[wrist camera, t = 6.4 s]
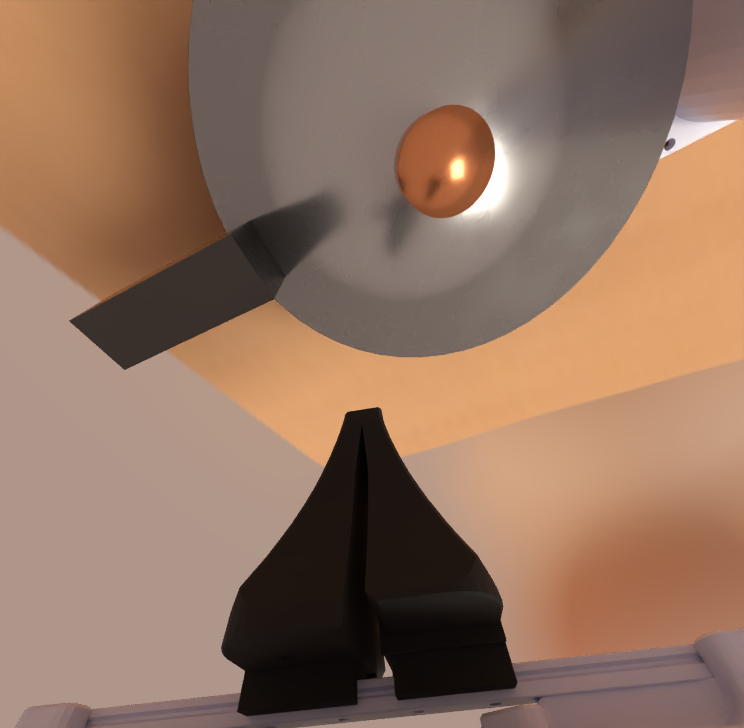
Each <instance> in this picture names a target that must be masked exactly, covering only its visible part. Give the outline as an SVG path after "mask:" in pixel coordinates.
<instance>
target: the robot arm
mask: <svg viewBox="0 0 744 728" xmlns="http://www.w3.org/2000/svg"><path fill="white" fill-rule="evenodd" d="M741 119H744V0H693V9H692V30H691V39H690V45H689V52H688V58H687V65H686V71H685V78H684V82H683V86H682V90H681V93H680V97H679V101H678V105H677V109H676V113H675V117H674V120H673V123H672V126H671V129H670V131H669V134H668V137H667V140H666V142H667V141H668V140H669V143H668V146H667V147H666V148H665V149H664V148H663V151H662V154H661V156H660V159H661V158H663V157H665V156H667V155H669V154H671V153H673V152H675V151H677V150H679V149H681V148H683V147H685V146H687V145H689V144H691V143H693V142H695V141H697V140H699V139H701V138H703V137H705V136H707V135H709V134H711V133H713V132H715V131H717V130H719V129H721V128H723V127H725V126H727V125H729V124H731V123H733V122H735V121H737V120H741ZM502 610H503V603H502V599H501V596H500V594H499V592H498V590H497V587H496V586H495V583H494V582H493V580H492V578H491V576H490V575H489V573H488V571H487V570H486V568H485V566H484V565H483V563H482V562H481V560H480V559H479V557H478V555H477V554H476V553H475V552H474V551H473V550H472V549H471V548H470V547H469V546H468V545H467V544H466V543H465V542H464V541H463V540H462V539H461V537H460V536H459V535H458V534H457V533H456V532H455V531H454V530H453V528H452V527H451V526H450V525H449V524H448V523H447V522H446V521H445V519H444V518H443V517H442V516H441V515H440V513H439V512H438V511H437V510H436V508H435V507H434V506H433V505H432V503H431V502H430V501H429V500H428V498H427V497H426V496H425V494H424V493H423V492H422V490H421V489H420V488H419V486H418V484H417V483H416V482H415V480H414V479H413V477H412V476H411V474H410V473H409V471H408V469H407V468H406V466H405V464H404V463H403V461H402V459H401V458H400V456H399V454H398V452H397V450H396V448H395V446H394V444H393V442H392V440H391V438H390V436H389V434H388V431H387V429H386V426H385V424H384V421H383V416H382V411H381V409H380V408H378V407H376V408H370V409H363V410H357V411H350V412H347V413H346V414H345V418H344V422H343V425H342V428H341V431H340V433H339V436H338V439H337V441H336V444H335V446H334V449H333V451H332V453H331V456H330V458H329V460H328V462H327V464H326V466H325V468H324V470H323V472H322V474H321V477H320V478H319V480H318V482H317V484H316V486H315V488H314V490H313V491H312V493H311V494H310V496H309V498H308V500H307V501H306V503H305V504H304V506H303V507H302V509H301V510H300V512H299V513H298V515H297V517H296V518H295V519H294V521H293V523H292V524H291V525H290V527H289V528H288V529H287V531H286V532H285V533H284V535H283V536H282V537H281V539H280V540H279V541H278V543H277V544H276V545H275V546H274V548H273V549H272V550H271V552H270V553H269V554H268V555H267V557H266V558H265V559H264V560H263V561H262V562H261V564H260V565H259V566H258V567H257V568H256V569H255V571H254V572H253V573H252V574H251V575H250V576H249V577H248V579H247V580H246V581H245V582H244V583H243V584H242V585H241V587H240V588H239V591H238V594H237V596H236V599H235V602H234V605H233V607H232V610H231V613H230V617H229V620H228V624H227V628H226V632H225V635H224V639H223V643H222V647H221V649H222V653H223V655H224V656H225V657H226V658H227V659H228V660H230V661H231V662H233V663H234V664H236V665H237V666H239V667H240V668H242V669H243V670H245V675H244V680H243V684H242V689H241V693H237V694H227V695H218V696H209V697H201V698H190V699H181V700H173V701H164V702H154V703H144V704H135V705H126V706H117V707H108V708H99V709H91V708H90V707H88V706H86V705H82V704H77V703H60V704H52V705H43V706H33V707H29V708H28V709H26V710H25V711H24V713H23V714H22V716H21V717H20V719H19V721H18V723H17V724H16V726H15V728H297V727H307V726H317V725H326V724H336V723H346V722H356V721H366V720H376V719H385V718H395V717H404V716H415V715H425V714H435V713H444V712H454V711H464V710H473V709H483V708H494V707H503V706H513V705H519V706H514V707H510V708H506V709H502V710H497V711H493V712H489V713H485V714H482V716H481V718H480V720H481V725H482V727H481V728H744V628H738V629H729V630H721V631H714V632H710V633H707V634H703V635H701V636H699V637H698V638H697V639H696V640H695V641H694V644H687V645H677V646H668V647H659V648H650V649H641V650H632V651H622V652H612V653H604V654H594V655H585V656H576V657H567V658H557V659H548V660H539V661H530V662H521V663H511V659H510V656H509V652H508V649H507V646H506V643H505V642H506V637H505V633H504V630H503V627H502V624H501V614H502ZM384 656H385V658H386V660H387V662H388V664H389V666H390V668H391V670H392V672H393V676H392V677H383V678H382V676H383V674H384V672H385V662H384ZM533 703H537V704H533ZM523 704H527V705H523Z"/></svg>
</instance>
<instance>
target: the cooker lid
mask: <svg viewBox="0 0 744 728" xmlns="http://www.w3.org/2000/svg"><path fill="white" fill-rule="evenodd" d="M692 9H693V0H193V5H192V15H191V25H190V35H189V45H188V56H189V98H190V106H191V114H192V123H193V131H194V137H195V142H196V146H197V150H198V155H199V159H200V163H201V168H202V172H203V175H204V178H205V181H206V184H207V187H208V190H209V193H210V196H211V199H212V201H213V204H214V207H215V209H216V211H217V214H218V216H219V218H220V220H221V222H222V224H223V226H224V229H225V231H226V234H224V235H222V236H220V237H218V238H216V239H215V240H213V241H211V242H209V243H207V244H205V245H204V246H202V247H200V248H198V249H196V250H194V251H192V252H191V253H189V254H187V255H185V256H183V257H181V258H179V259H178V260H176V261H174V262H172V263H170V264H168V265H167V266H165V267H163V268H161V269H159V270H157V271H155V272H154V273H152V274H150V275H148V276H146V277H144V278H142V279H141V280H139V281H137V282H135V283H133V284H131V285H129V286H128V287H126V288H124V289H122V290H120V291H118V292H117V293H115V294H113V295H111V296H109V297H108V298H106V299H104V300H103V301H101V302H99V303H98V304H96V305H95V306H93V307H91V308H90V309H88V310H86V311H85V312H83V313H81V314H80V315H78V316H76V317H75V318H73V319H72V320H70V322H71V323H72V324H73V325H75V327H76V328H78V329H79V330H80V331H81V332H82V333H83V334H84V335H86V336H87V337H88V338H89V339H90V340H91V341H92V342H94V343H95V344H96V345H97V346H98V347H99V348H100V349H102V350H103V351H104V352H105V353H106V354H107V355H108V356H110V357H111V358H112V359H113V360H114V361H115V362H116V363H117V364H118V365H120V366H121V367H122V368H123V369H124V370H126V369H127V368H130V367H132V366H134V365H136V364H138V363H140V362H142V361H144V360H146V359H148V358H151V357H153V356H155V355H157V354H159V353H161V352H163V351H166V350H168V349H170V348H172V347H174V346H176V345H178V344H180V343H182V342H185V341H187V340H189V339H191V338H193V337H195V336H197V335H199V334H201V333H203V332H206V331H208V330H210V329H212V328H214V327H216V326H218V325H220V324H222V323H225V322H227V321H229V320H231V319H233V318H235V317H237V316H239V315H241V314H244V313H246V312H248V311H250V310H252V309H254V308H256V307H258V306H260V305H263V304H265V303H267V302H269V301H271V300H273V299H275V300H276V301H277V302H278V303H279V304H280V305H281V306H283V307H284V308H285V309H286V310H287V311H289V312H290V313H291V314H292V315H294V316H295V317H296V318H297V319H298V320H300V321H301V322H303V323H304V324H306V325H308V326H309V327H311V328H312V329H314V330H315V331H317V332H318V333H320V334H322V335H324V336H326V337H328V338H330V339H332V340H334V341H337V342H339V343H341V344H344V345H347V346H350V347H352V348H355V349H358V350H362V351H366V352H370V353H375V354H379V355H387V356H396V357H428V356H437V355H445V354H449V353H454V352H459V351H463V350H467V349H470V348H473V347H476V346H479V345H482V344H485V343H487V342H490V341H492V340H494V339H497V338H499V337H501V336H503V335H506V334H508V333H509V332H511V331H513V330H515V329H517V328H518V327H520V326H522V325H524V324H525V323H527V322H529V321H530V320H532V319H533V318H535V317H536V316H537V315H539V314H540V313H542V312H543V311H545V310H546V309H547V308H549V307H550V306H551V305H553V304H554V303H555V302H556V301H557V300H558V299H560V298H561V297H562V296H563V295H564V294H566V293H567V292H568V291H569V290H570V289H571V288H572V287H573V286H574V285H575V284H576V283H577V282H578V281H579V280H580V279H581V278H582V277H583V276H584V275H585V274H586V273H587V272H588V271H589V270H590V269H591V268H592V267H593V265H594V264H595V263H596V262H597V261H598V259H599V258H600V257H601V256H602V255H603V253H604V252H605V251H606V250H607V249H608V247H609V246H610V245H611V243H612V242H613V240H614V239H615V238H616V236H617V235H618V233H619V232H620V230H621V229H622V227H623V226H624V225H625V223H626V222H627V220H628V219H629V217H630V215H631V213H632V212H633V210H634V208H635V206H636V205H637V203H638V201H639V199H640V198H641V196H642V194H643V193H644V191H645V189H646V187H647V185H648V182H649V180H650V178H651V176H652V174H653V172H654V169H655V167H656V165H657V163H658V161H659V159H660V156H661V154H662V151H663V148H664V145H665V143H666V140H667V137H668V134H669V131H670V129H671V126H672V123H673V120H674V117H675V113H676V109H677V105H678V101H679V97H680V93H681V90H682V86H683V82H684V78H685V71H686V65H687V58H688V52H689V45H690V39H691V30H692Z"/></svg>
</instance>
